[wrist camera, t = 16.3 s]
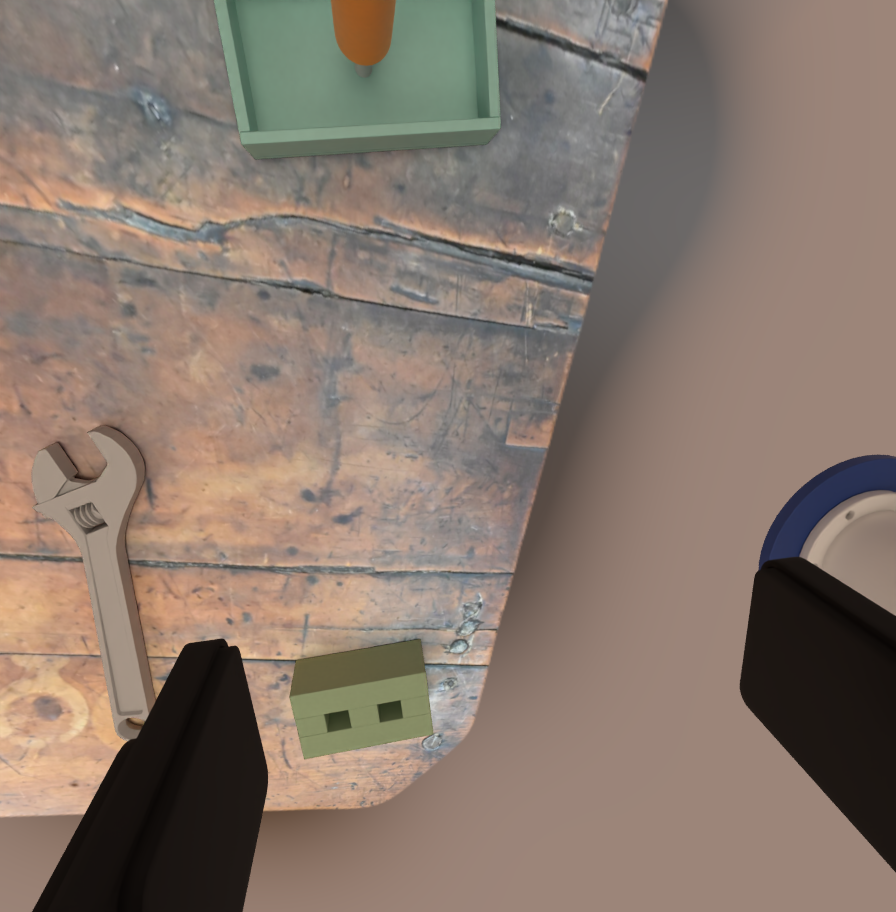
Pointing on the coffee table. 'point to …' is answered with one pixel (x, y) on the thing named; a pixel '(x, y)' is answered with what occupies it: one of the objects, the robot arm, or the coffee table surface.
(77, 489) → the adjustable wrench
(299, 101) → the tray
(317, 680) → the holder
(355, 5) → the orange handle
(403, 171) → the coffee table surface
